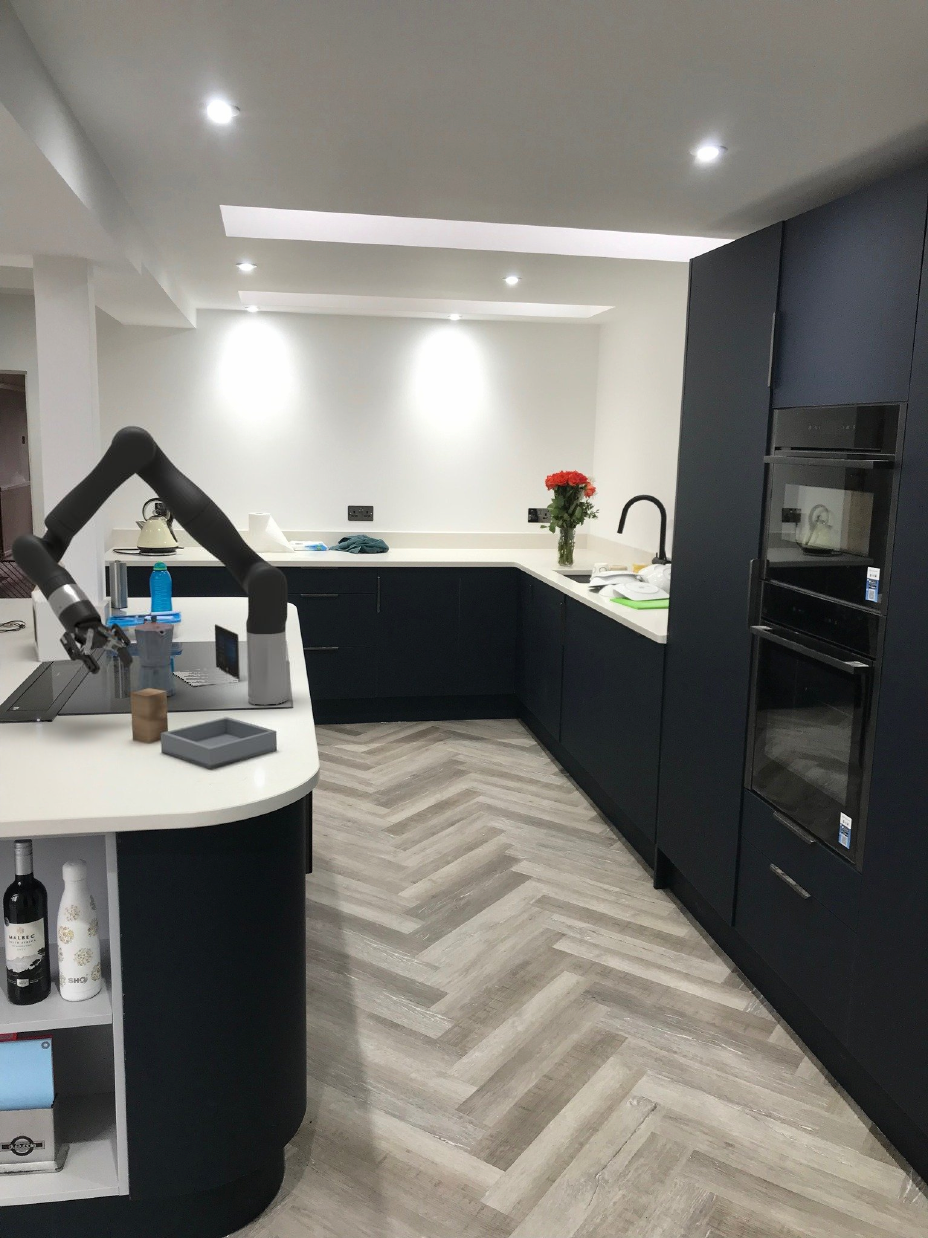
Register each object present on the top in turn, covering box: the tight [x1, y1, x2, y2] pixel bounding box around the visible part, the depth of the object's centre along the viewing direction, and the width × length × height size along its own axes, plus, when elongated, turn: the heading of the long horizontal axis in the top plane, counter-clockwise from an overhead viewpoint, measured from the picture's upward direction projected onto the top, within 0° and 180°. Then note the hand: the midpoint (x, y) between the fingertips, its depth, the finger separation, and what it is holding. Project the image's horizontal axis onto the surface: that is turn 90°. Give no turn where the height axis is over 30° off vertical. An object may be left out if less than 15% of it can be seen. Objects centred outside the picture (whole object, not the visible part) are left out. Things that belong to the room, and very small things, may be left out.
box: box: [160, 716, 278, 770], centre depth 189 cm, size 16×16×4 cm
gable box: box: [31, 560, 80, 663], centre depth 279 cm, size 22×13×28 cm, turn 27°
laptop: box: [172, 624, 241, 687], centre depth 252 cm, size 18×12×13 cm
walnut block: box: [130, 688, 169, 744], centre depth 197 cm, size 5×5×10 cm
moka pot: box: [133, 615, 176, 697], centre depth 233 cm, size 10×15×20 cm, turn 39°
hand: (113, 668), depth 200 cm, fingers open, 8 cm apart
